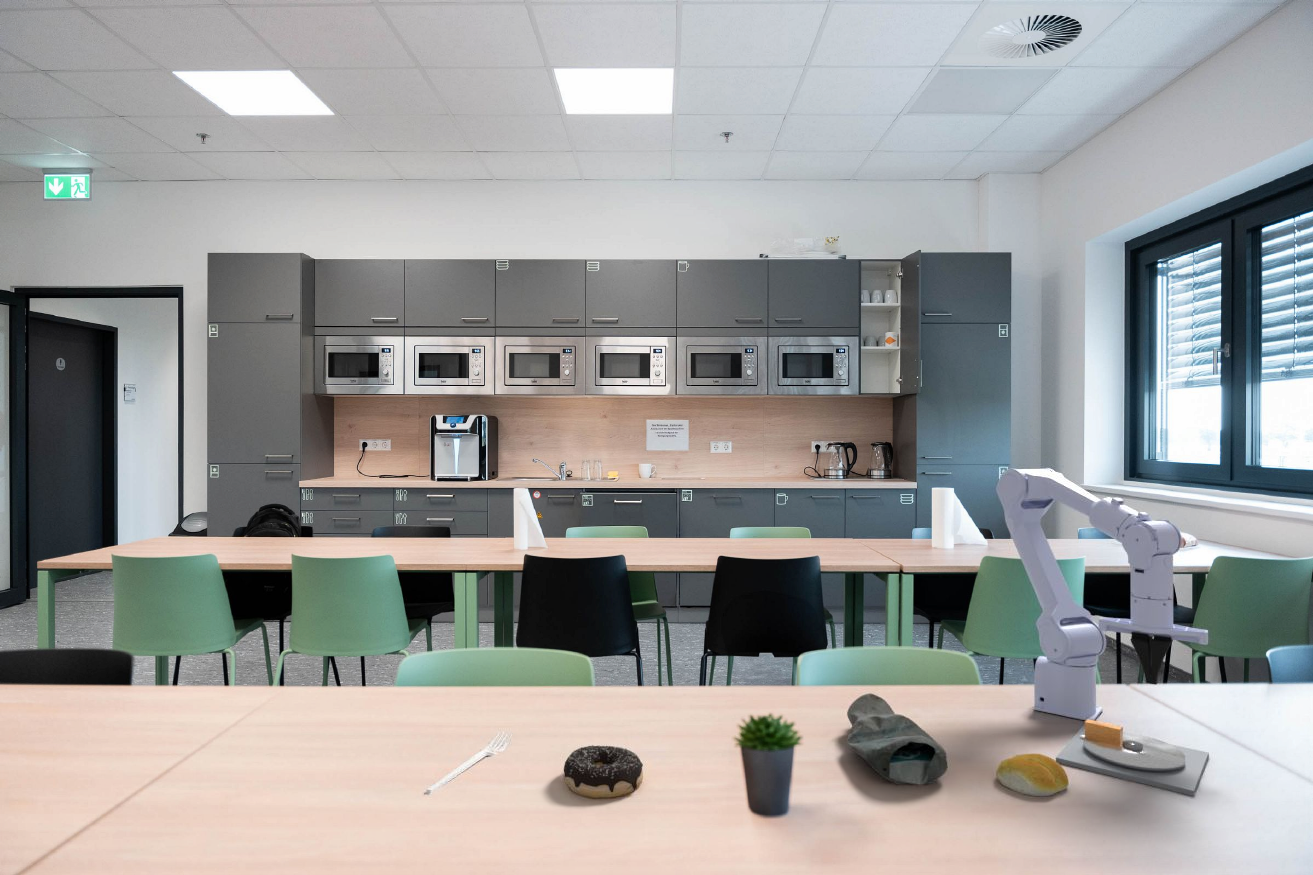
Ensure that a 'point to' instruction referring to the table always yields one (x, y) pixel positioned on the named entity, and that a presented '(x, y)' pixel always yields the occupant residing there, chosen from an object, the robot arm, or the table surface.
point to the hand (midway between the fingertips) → (1151, 682)
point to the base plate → (1173, 780)
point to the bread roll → (1032, 775)
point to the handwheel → (1130, 748)
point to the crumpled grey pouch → (893, 743)
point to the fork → (473, 761)
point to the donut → (603, 771)
